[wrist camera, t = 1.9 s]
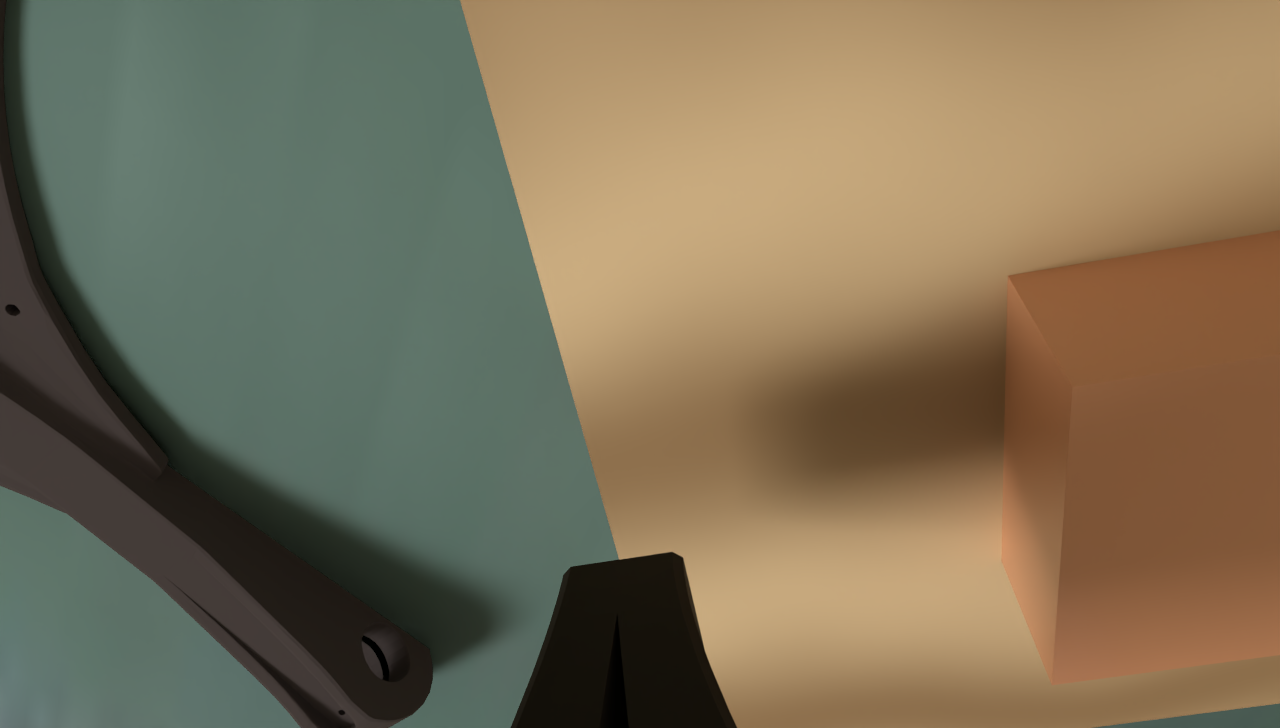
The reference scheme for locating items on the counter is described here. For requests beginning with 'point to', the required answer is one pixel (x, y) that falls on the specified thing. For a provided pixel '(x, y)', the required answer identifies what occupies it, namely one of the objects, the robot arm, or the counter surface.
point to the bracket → (179, 513)
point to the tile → (1145, 458)
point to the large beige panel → (859, 304)
